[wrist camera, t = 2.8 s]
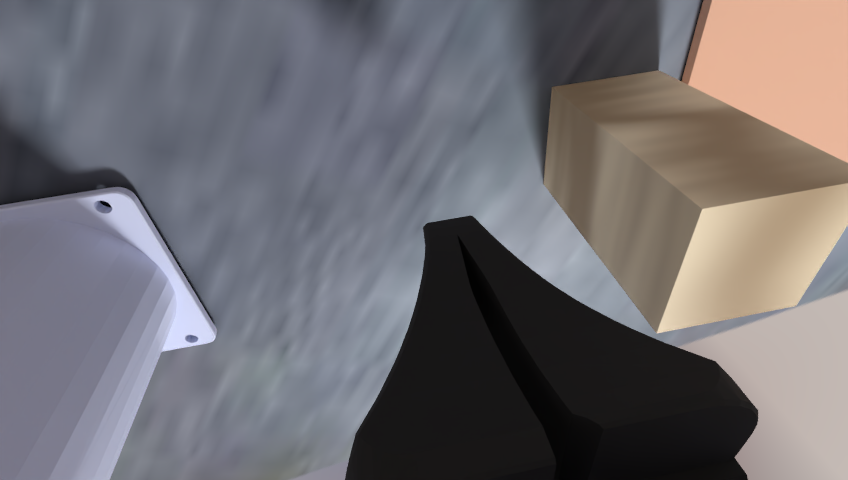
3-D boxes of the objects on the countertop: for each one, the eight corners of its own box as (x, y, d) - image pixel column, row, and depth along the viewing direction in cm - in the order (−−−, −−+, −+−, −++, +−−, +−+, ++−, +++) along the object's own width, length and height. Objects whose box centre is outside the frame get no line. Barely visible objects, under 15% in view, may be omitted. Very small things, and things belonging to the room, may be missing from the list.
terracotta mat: (638, 239, 20) (643, 244, 20) (721, -69, 13) (731, -69, 13) (905, 191, 21) (914, 195, 21) (1125, -123, 14) (1143, -125, 14)
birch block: (543, 184, 18) (656, 333, 11) (552, 86, 15) (702, 209, 9) (635, 168, 18) (795, 305, 12) (658, 70, 15) (877, 178, 9)
